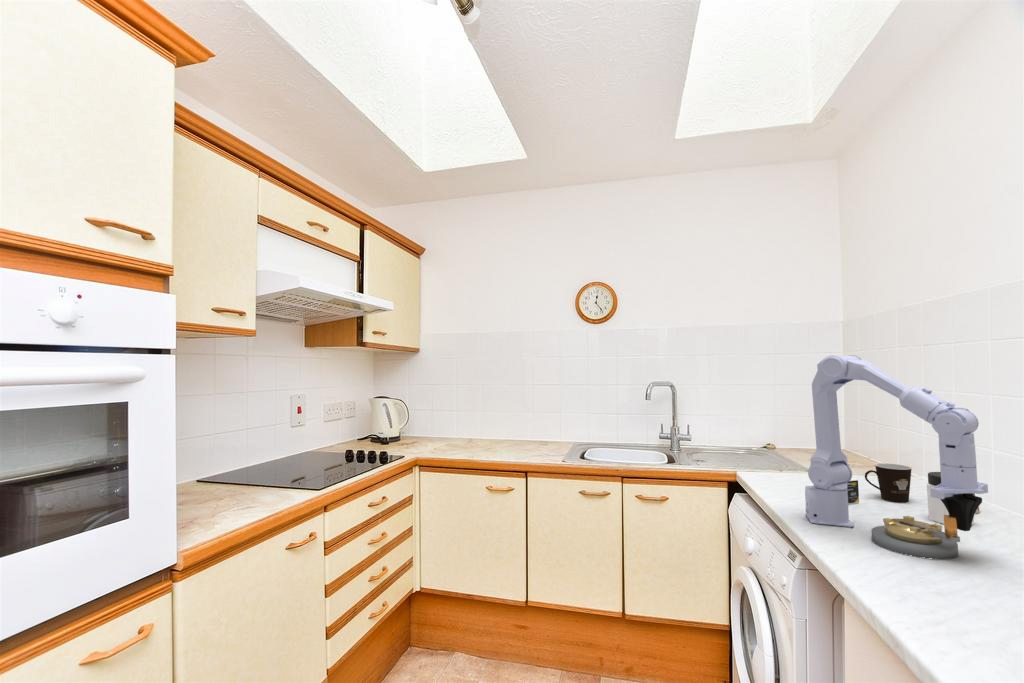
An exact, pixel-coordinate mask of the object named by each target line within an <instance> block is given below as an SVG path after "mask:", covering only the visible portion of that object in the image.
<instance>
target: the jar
mask: <svg viewBox="0 0 1024 683" xmlns="http://www.w3.org/2000/svg"><path fill="white" fill-rule="evenodd" d="M927 480H928V481H927V484H926V490H927V492H926V493H927V505H928V506H927V507H928V508H927V509H928V510H927V511H928V519H929V521H932V522H935V523H939V524H940V525H944V515H949V513H948V510H947V509H946V507H945V505H944V504H943V502H942V501H941V500H940V499H938V498H933V497H931V490H930V488H933V487H936V486H937V485H939V484H940V483H941V471H929V472H928V473H927ZM974 524H975V516H974V517H973V521H972V525H971V526H973V525H974Z"/></svg>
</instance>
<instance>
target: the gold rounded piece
mask: <svg viewBox="0 0 1024 683" xmlns="http://www.w3.org/2000/svg"><path fill="white" fill-rule="evenodd" d="M902 517H903V518H889V517H885V518H883V519H882V522H883V523H884V524H883V526H884V528H885V534H887V535H888V536H890V537H892V538H895V539H898V540H901V541H905V542H910V543H916V544H924V545H936V544H941V543H942V539H944V540H947V541H950V542H953V543H955V542H957V543H961V537H960V536H958V529H957V517H955V516H951V515H944V524H943V525H944V526H943V525H942V524H937V523H928V522H925V521H920V520H916V519H915V517H913V516H910V515H903V516H902ZM943 527H944V531H942V530H943Z"/></svg>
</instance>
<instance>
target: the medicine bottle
mask: <svg viewBox="0 0 1024 683" xmlns="http://www.w3.org/2000/svg"><path fill="white" fill-rule="evenodd" d="M848 465H849V466H850V467H851V465H850V463H849V462H848ZM847 486H848V487H847V493H848V505H853V504H859V503H860V494H859V493H860V492H859V490H860V489H859V480H858V478H855V477H852V478H851V480H850V481H849V482H848V483H847Z"/></svg>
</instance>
